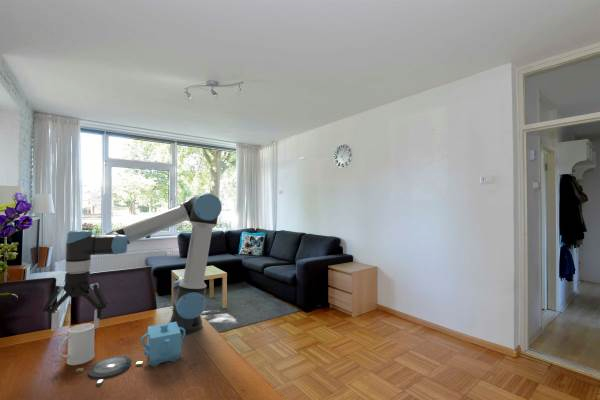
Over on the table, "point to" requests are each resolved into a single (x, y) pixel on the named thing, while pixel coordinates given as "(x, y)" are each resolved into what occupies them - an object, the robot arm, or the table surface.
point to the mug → (79, 344)
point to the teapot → (163, 343)
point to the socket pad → (109, 367)
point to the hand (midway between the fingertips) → (75, 328)
